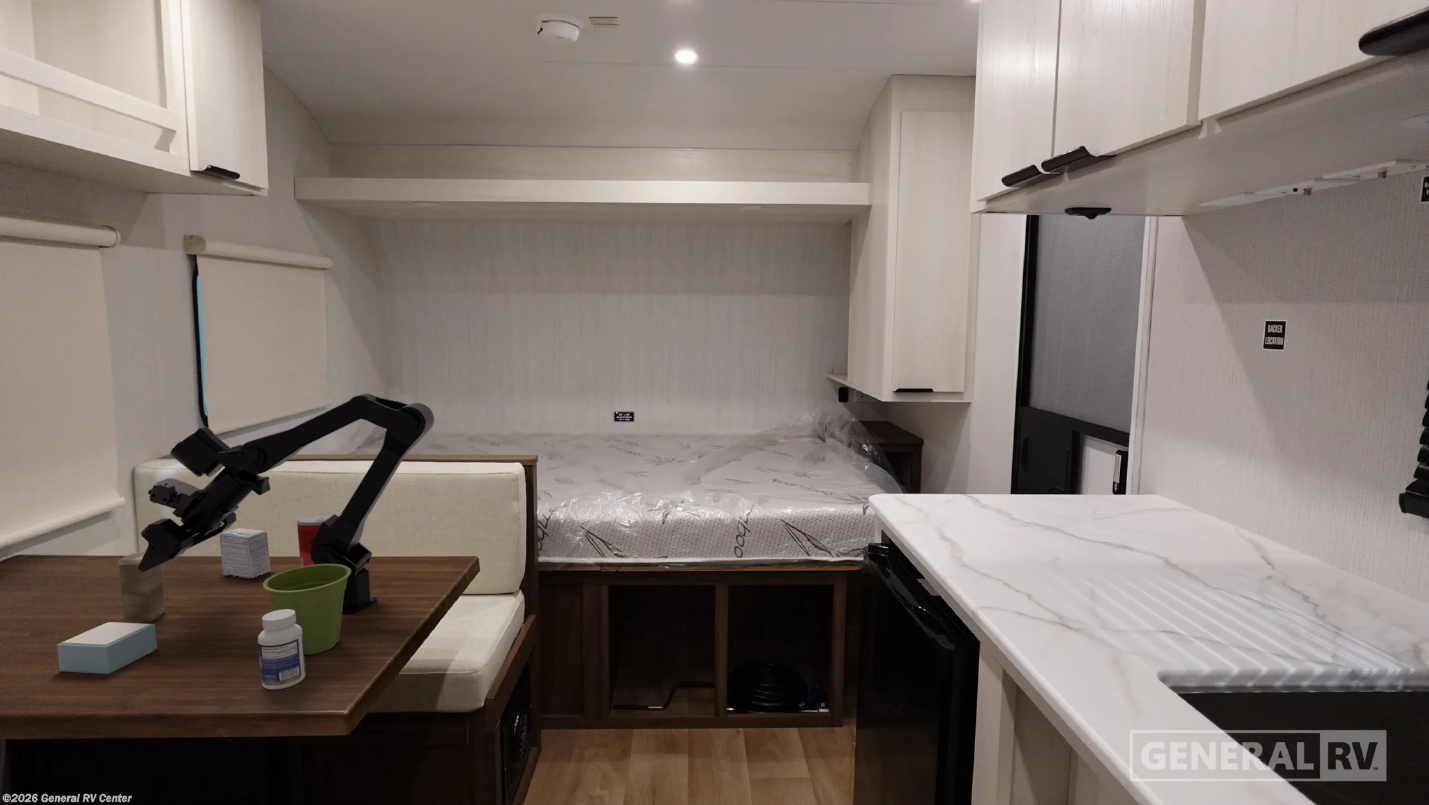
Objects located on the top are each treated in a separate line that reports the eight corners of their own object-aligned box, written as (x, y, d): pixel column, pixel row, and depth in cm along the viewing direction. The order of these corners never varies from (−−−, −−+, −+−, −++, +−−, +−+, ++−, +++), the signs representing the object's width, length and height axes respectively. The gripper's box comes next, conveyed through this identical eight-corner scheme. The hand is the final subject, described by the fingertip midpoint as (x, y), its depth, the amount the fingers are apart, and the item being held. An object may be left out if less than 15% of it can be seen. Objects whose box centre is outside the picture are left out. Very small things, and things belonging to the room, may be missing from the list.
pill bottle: (273, 673, 106) (268, 607, 104) (312, 671, 106) (307, 606, 105) (253, 692, 100) (247, 623, 99) (294, 689, 101) (289, 621, 100)
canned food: (326, 577, 145) (322, 523, 144) (291, 575, 147) (287, 521, 145) (352, 564, 152) (349, 513, 151) (319, 562, 154) (315, 511, 153)
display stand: (157, 649, 114) (154, 623, 113) (109, 673, 106) (105, 646, 105) (111, 646, 115) (108, 621, 114) (59, 671, 107) (56, 643, 106)
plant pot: (249, 659, 110) (243, 586, 109) (312, 627, 121) (307, 561, 120) (314, 668, 107) (308, 593, 106) (372, 634, 118) (368, 566, 117)
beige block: (165, 612, 128) (159, 551, 127) (151, 622, 124) (144, 559, 123) (139, 614, 127) (133, 552, 126) (124, 623, 123) (117, 560, 122)
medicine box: (271, 572, 148) (268, 530, 147) (251, 579, 144) (247, 536, 143) (242, 568, 151) (239, 527, 150) (222, 575, 147) (218, 533, 146)
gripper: (212, 453, 133) (151, 515, 133) (149, 474, 115) (77, 546, 114) (262, 494, 135) (202, 555, 135) (208, 522, 117) (138, 592, 116)
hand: (157, 561), depth 125 cm, fingers open, 9 cm apart
